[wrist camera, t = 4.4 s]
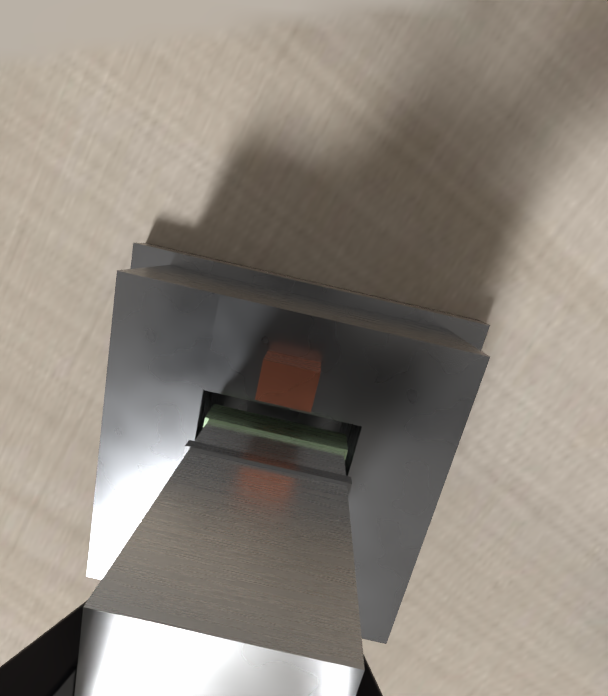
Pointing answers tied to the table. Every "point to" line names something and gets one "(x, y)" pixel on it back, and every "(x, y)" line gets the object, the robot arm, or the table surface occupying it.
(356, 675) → the column
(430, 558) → the table surface
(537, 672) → the table surface
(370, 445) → the housing
